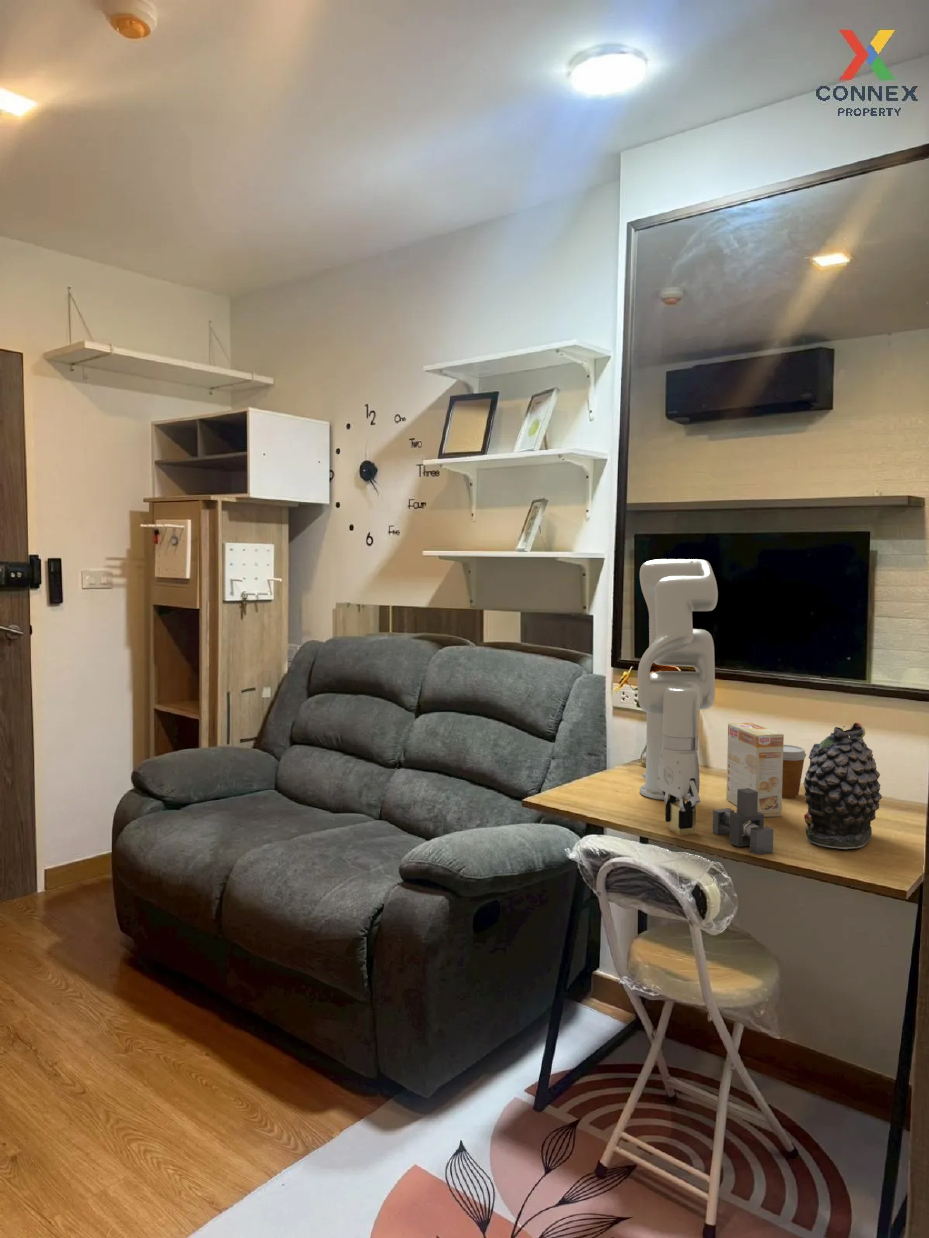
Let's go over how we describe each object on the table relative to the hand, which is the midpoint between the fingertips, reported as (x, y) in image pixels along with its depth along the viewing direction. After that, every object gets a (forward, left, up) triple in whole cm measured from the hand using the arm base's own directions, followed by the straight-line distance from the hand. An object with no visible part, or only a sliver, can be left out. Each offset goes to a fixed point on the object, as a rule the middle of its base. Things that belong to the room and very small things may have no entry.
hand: (678, 823), depth 183 cm
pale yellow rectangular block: (0, +1, -2) cm, 2 cm away
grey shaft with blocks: (+10, +9, -2) cm, 14 cm away
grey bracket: (+12, +9, -2) cm, 15 cm away
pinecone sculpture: (+15, +30, -2) cm, 34 cm away
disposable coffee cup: (-17, +42, -2) cm, 45 cm away
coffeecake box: (-10, +27, -2) cm, 29 cm away
